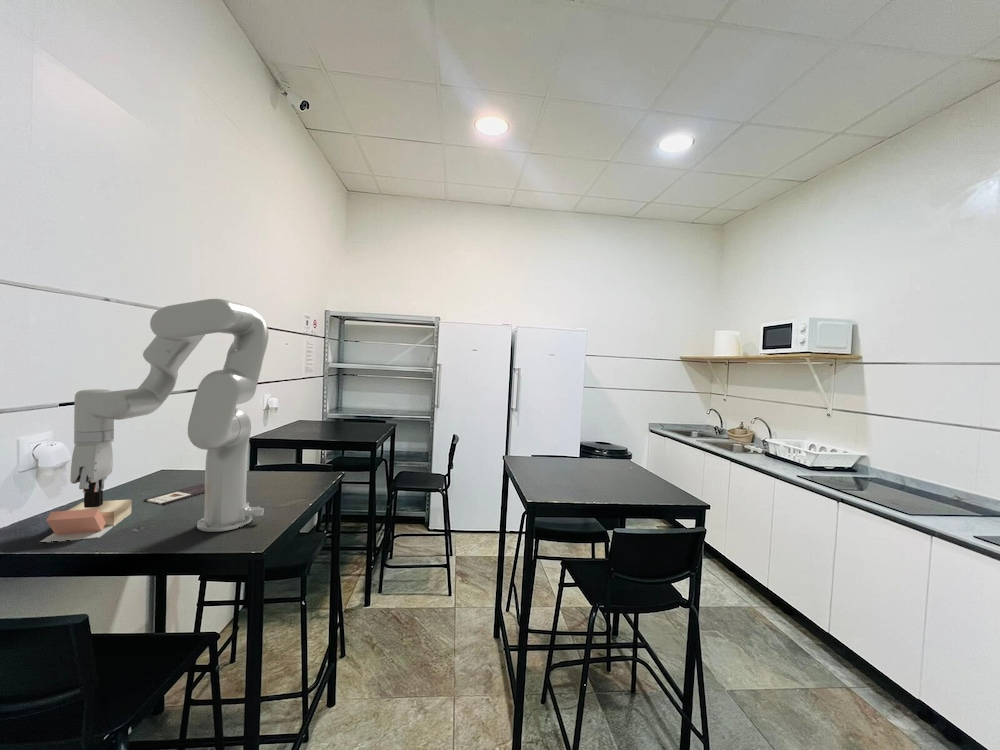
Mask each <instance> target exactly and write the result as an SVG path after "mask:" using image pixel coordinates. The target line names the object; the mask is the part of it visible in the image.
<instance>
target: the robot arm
mask: <svg viewBox="0 0 1000 750" xmlns="http://www.w3.org/2000/svg"><path fill="white" fill-rule="evenodd" d="M149 326H150V329H151V332H152V333H153V334H154V335H155V337H154V338H153V339H152V341H151V342H150V343H149V344H148V346H147V347H146V348H145V349H144V351H143V352H142V357H143V358H144V360H145V361H146V362H147V364H149V365H150V370H149V373H148V375H147V377H146V378H145V379H144V380H143V382H141V384H140V385H139V386H138V387H137V388H131V389H130V388H129V389H122V390H121V389H119V390H110V389H103V388H102V389H94V388H93V389H82V390H78V391H77V392H76V393H75V394H74V405H73V406H74V414H73V417H74V418H73V419H74V421H73V444H74V447H73V449H72V450H73V452H72V456H71V465H70V479H69V481H70V483H71V484H77V483H79V486H78V490H82V492H83V502H84V507H85V508H89V507H99V506H101V505H102V504H103V501H104V489H105V488H104V487H105V481H106V479H107V478H108V476H109V475H111V474H112V473H113V468H114V467H113V465H114V463H113V461H114V459H113V444H112V443H113V442H114V440H115V439H114V438H115V437H114V436H115V433H114V432H115V420H116V421H117V420H119V421H121V420H128V419H132V418H137V417H141V416H142V417H143V416H147V415H150V414H152V413H154V412H155V411H157V410H158V409H159V408H160V407H161V406H162V405H163V404H164V402H165V401H166V399H168V397H169V396H170V395H171V394H172V392H173V390H174V388H175V386H176V384H177V381H178V380H177V379H178V375H179V373H178V372H179V370H180V368H181V366H182V365H183V364H184V362H185V361H187V359H188V357H189V356H190V355H191V353H193V351H195V349H196V347H198V345H199V343H200V342H201V341H202V340H203V339H204V338H205V336H206V335H209V334H218V333H219V334H228V335H233V336H234V338H233V341H232V343H231V344H230V346H229V348H228V350H227V354H226V358H225V361H224V364H223V368H222V369H217V370H214V371H212V372H209V373H208V374H207V375H205V376H204V377H203V378H202V380H201V381H200V382H199V385H198V387H197V389H196V393H195V397H194V400H193V404H192V408H191V411H190V415H189V419H188V423H187V437H188V439H189V442H190V443H191V444H192V445H193V446H194V447H196V448H198V449H200V450H205V451H206V456H205V467H204V468H205V470H204V475H205V476H204V485H205V494H204V512H203V513H204V514H203V515H204V516H203V517H202V518H201V519H199V520H198V521H197V522H196V524H197V525H196V529H198V531H201V532H208V533H214V532H215V533H216V532H217V533H218V532H227V531H230V530H237V529H240V528H241V527H245V526H246V524H247V525H248V524H250V523H251V522H252V521H253V516H256V517H257V516H260V517H261V516H264V510H265V508H263V507H261V506H254V507H251V505H250V502H249V501H248V502H247V480H248V479H247V475H248V473H247V472H248V470H247V469H248V452H249V451H248V450H249V442H250V437H251V430H252V423H251V419H250V416H249V415H248V413H247V412H246V411H244V410H242V409H241V408H238V407H237V406H238V405H241V404H245V403H247V402H249V401H250V400H252V399H253V398H254V396H255V393H256V390H257V386H258V382H259V379H260V374H261V371H262V366H263V362H264V357H265V353H266V350H267V347H268V342H269V329H268V326H267V323H266V321H265V320H264V318H263V317H262V316H261V315H260V313H258V312H257V311H255V309H252V308H251V307H249V306H247V305H244V304H242V303H239V302H235V301H231V300H226V299H223V298H209V299H201V300H195V301H191V302H183V303H177V304H170V305H166V306H164V307H161V308H159V309H157V310H156V311H155V312H154V313H153V314H152V316H151V317H150V322H149ZM251 520H252V521H251ZM244 525H245V526H244ZM239 527H240V528H239Z"/></svg>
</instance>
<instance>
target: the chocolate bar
mask: <svg viewBox="0 0 1000 750" xmlns="http://www.w3.org/2000/svg"><path fill="white" fill-rule="evenodd" d="M204 493H205V484H201V483H200V484H197V485H191V486H188V487H185V488H181V489H179V490H174V491H170V492H165V493H163V494H159V495H155V496H151V497H148V498H144V499H143V501H144V502H147V503H152V504H156V503H158V504H157V505H162V504H163V506H166V504H167V505H170V503H171V504H174V503H177V502H176V501H178V502H180V500H181V501H184V500H183V499H185V500H187V498H188V499H191V498H194V497H193V496H195V497H197V495H198V496H201V495H200V494H202V495H205V494H204ZM190 497H191V498H190ZM173 502H174V503H173Z"/></svg>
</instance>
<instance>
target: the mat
mask: <svg viewBox="0 0 1000 750" xmlns="http://www.w3.org/2000/svg"><path fill="white" fill-rule="evenodd" d="M113 528H114V527H113V526H109V527H103V529H102V531H95V532H83V533H70V534H57V535H55V533H54V532H53V533H51V534H50V535H48V536H46V537H45V538H44V539H42V540H40V541H39V542H47V543H54V542H53V541H58V542H67V541H66V540H70V541H80V540H81V539H82V540H92V539H94V540H95V539H100V538H101V537H102V536H103V535H104V534H106V533H107V532H109V531H110V530H111V529H113ZM82 540H81V541H82ZM51 541H52V542H51Z"/></svg>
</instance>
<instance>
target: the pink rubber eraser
mask: <svg viewBox="0 0 1000 750" xmlns="http://www.w3.org/2000/svg"><path fill="white" fill-rule="evenodd" d="M46 523H47V524H48V525H49V528H50V529H51V530H52V532H53V533H55V535H57V534H70V533H83V532H95V531H102V529H103V527H104V525H105V523H106V522H105V520H104V518H103V516H102V514H101V512H100V510H99V509H86V510H70V511H67V510H62V511H61V510H59V511H50V513H49V515H48V517H47V518H46Z"/></svg>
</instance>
